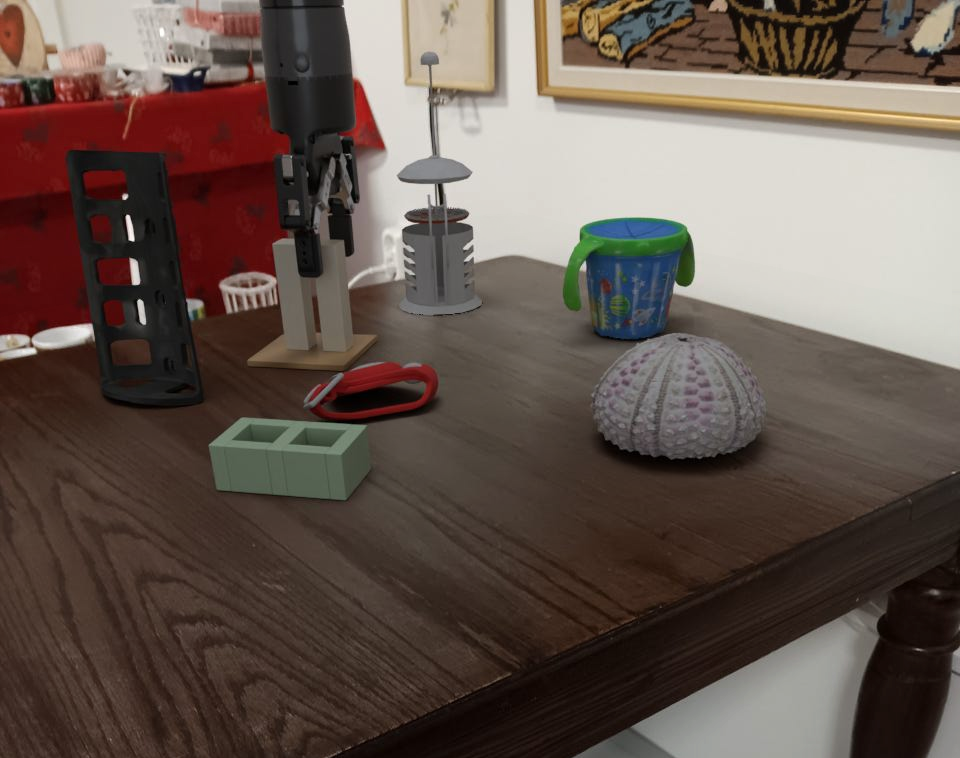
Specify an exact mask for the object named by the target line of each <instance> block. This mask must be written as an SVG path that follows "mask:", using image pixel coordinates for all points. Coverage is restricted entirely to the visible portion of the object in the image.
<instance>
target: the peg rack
mask: <svg viewBox="0 0 960 758" xmlns="http://www.w3.org/2000/svg"><path fill="white" fill-rule="evenodd" d="M208 450H209V455H210V461H211V466H212V471H213V476H214V477H213V478H214V483H215V489H216V491H222V492H235V493H246V494H247V493H248V494H258V495H259V494H261V495H271V496H273V495H274V496H287V497H299V498H311V499H324V500H335V501H347V500H348V499H349V497H350V496H351V495H352V494H353V492H354V491H355V490H356V489H357V488H358V487H359V485H360V484H361V483H362V481H363V480H364V479H365V478H366V477H367V475H368V474H370V472H371V470H372V463H371V452H370V441H369V431H368V425H366V424H352V423H340V422H339V423H337V422H323V421H322V422H321V421H305V420H302V421H301V420H292V419H291V420H289V419H277V418H276V419H273V418H260V417H259V418H258V417H243V416H242V417H241V418H239V419H238V420H236V422H234V424H232V425H231V426H229V428H227V429H226V430H225V431H224V432H223V433H221V434H220V435H219V436H218V437H216V438H215V439H214V440H213V441H211V442H210V443H209V444H208Z"/></svg>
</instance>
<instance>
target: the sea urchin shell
mask: <svg viewBox="0 0 960 758" xmlns="http://www.w3.org/2000/svg"><path fill="white" fill-rule="evenodd" d="M743 359H744V358H743V357H741V356H739V355H738V354H737V353H736V352H735V351H734V350H733V349H731V348H730V347H729V346H728V345H726V344H725V343H723V342H722V341H719V340H717V339H713V338H709V337H705V336H697V335H694V334H691V333H684V332H672V333H667V334H664V335H660V336H658V337H654V338H647V340H644V341H642V342H640V343H639V342H636V344H635V346H633V347H631V348H630V349H626V350H625V352H624V353H623V354H622V355H621V356H619V357H618V358H616V359H615V361H614V362H613V363H612V364H611V365H610V366H609V367H608V368H607V369H606V371H605V372H604V373H602V376H601V377H600V378H599V382H598V383H597V384H596V385H595V386H594V387H593V388H594V389H593V390H594V391H593V392H592V393H591V394H590V396H591V399H592V402H591V404H590V405H589V408H590V409H591V410H592V411H593V414H592V419H593V420H594V421H595V422H596V423H597V432H599V433H601V434H603V437H604V440H605V441H610V442H611V443H612V445H616V446H618V447H619V450H626V451H627V452H629V453H631V452H634V451H635V452H639V454H640V455H641V456H643V455H645V456H649V455H650V456H651V457H652V458H657V457H660V456H663V457H666V458H668V459H670V461H671V460H675V459H679V460H680V459H681V460H684V459H687V458H689V459H692V458H693V459H695V458H697V459H699V460H700V459H702V458H709V457H712V458H715V457H716V456H717V455H718V454H721V455H724V456H725V455H726V454H727V453H729V454H732V453H733V452H737V451H738V450H741V449H742V448H746V446H747V445H748V444H749V443H751V442H752V443H753V441H755V440H756V437H757V435H759V433H761V432H762V431H763V428H762V427H764V424H765V422H766V416H767V414H768V410H767V408H766V405H767V401H766V400H765V399H764V393H765V392H764V391H763V388H761V387H760V386H759V384H758V382H757V379H758V376H756V375H754V374H752V369H751V366H750V365H748V364H746V362H744V360H743Z"/></svg>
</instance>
